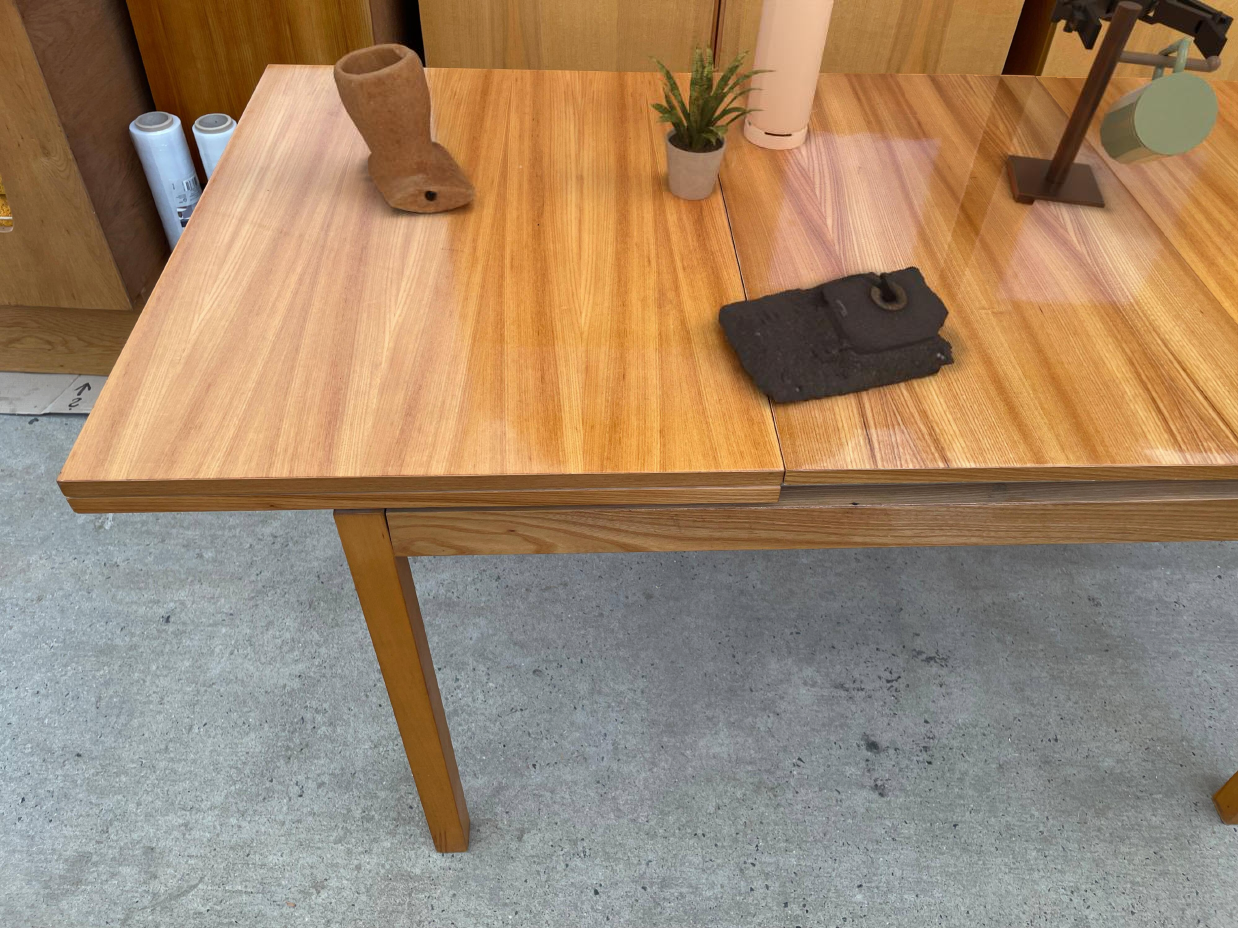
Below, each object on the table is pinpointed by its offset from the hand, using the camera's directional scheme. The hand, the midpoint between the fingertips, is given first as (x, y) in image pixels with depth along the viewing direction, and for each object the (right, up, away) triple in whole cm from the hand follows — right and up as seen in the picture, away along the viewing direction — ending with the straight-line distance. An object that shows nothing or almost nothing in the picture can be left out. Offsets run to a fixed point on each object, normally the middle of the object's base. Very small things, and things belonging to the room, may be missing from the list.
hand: (1155, 44), depth 101 cm
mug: (-2, -9, -8) cm, 12 cm away
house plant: (-52, -16, +4) cm, 54 cm away
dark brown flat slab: (-40, -36, -14) cm, 56 cm away
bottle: (-41, -5, +15) cm, 44 cm away
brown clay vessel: (-85, -16, +2) cm, 87 cm away
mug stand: (-4, -14, +8) cm, 17 cm away
